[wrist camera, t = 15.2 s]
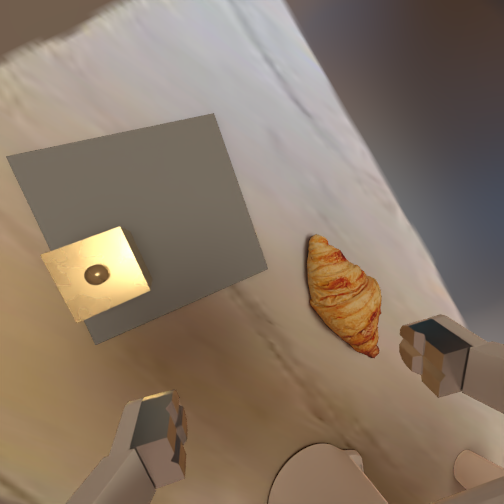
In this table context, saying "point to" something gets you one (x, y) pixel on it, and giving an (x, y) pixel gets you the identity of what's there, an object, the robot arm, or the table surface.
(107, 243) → the brass knob block
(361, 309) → the croissant
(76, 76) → the table surface
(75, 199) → the charcoal mat
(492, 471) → the foam cup
